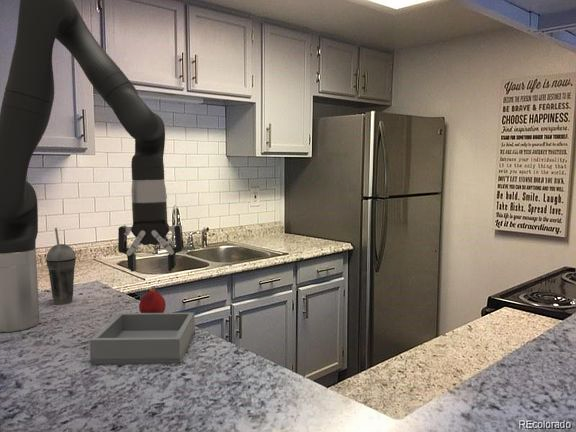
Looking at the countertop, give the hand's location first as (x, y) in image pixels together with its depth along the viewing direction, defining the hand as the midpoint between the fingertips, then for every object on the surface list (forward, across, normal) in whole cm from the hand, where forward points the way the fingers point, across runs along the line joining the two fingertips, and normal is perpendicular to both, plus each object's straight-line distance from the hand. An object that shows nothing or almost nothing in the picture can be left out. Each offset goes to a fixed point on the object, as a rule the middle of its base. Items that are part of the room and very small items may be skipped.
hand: (152, 270), depth 107 cm
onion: (+12, 0, 0) cm, 12 cm away
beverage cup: (+12, -28, +17) cm, 35 cm away
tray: (+12, +3, -16) cm, 20 cm away
